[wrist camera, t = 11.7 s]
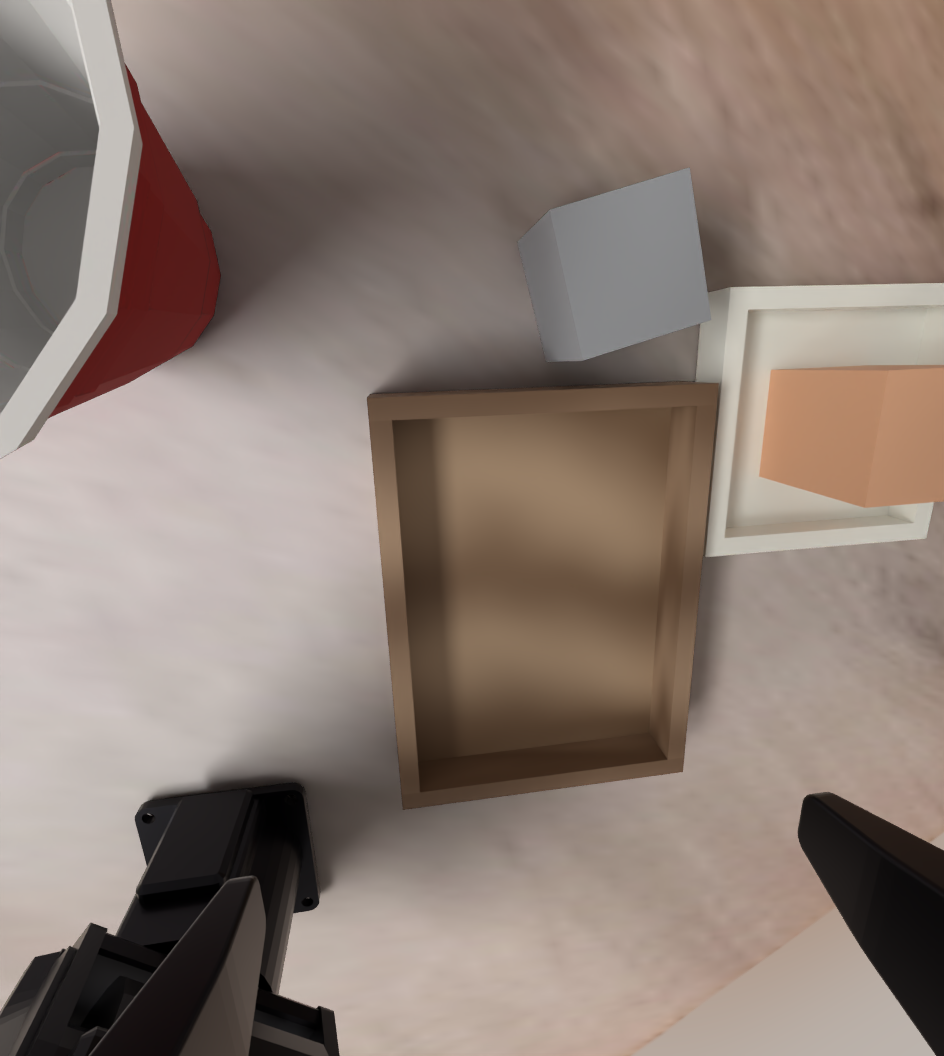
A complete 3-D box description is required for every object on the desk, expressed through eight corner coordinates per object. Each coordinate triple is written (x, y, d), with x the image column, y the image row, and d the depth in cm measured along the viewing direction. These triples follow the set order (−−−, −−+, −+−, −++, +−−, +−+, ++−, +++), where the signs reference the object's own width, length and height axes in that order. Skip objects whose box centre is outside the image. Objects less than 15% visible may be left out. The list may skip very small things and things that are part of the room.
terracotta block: (868, 365, 21) (1011, 364, 16) (851, 469, 22) (980, 498, 17) (770, 369, 20) (887, 370, 15) (759, 476, 21) (864, 507, 16)
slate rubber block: (649, 329, 20) (711, 320, 16) (545, 362, 19) (582, 360, 16) (628, 208, 18) (689, 167, 15) (516, 242, 18) (549, 209, 14)
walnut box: (654, 732, 25) (682, 771, 22) (401, 764, 23) (402, 809, 21) (680, 381, 20) (718, 383, 18) (369, 394, 19) (367, 398, 16)
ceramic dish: (889, 526, 23) (926, 538, 22) (682, 543, 22) (705, 557, 21) (935, 289, 21) (981, 282, 19) (702, 293, 19) (730, 287, 18)
